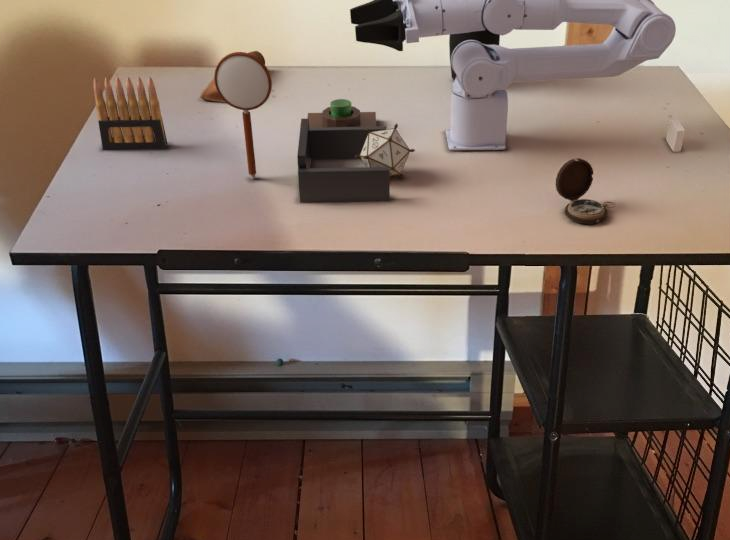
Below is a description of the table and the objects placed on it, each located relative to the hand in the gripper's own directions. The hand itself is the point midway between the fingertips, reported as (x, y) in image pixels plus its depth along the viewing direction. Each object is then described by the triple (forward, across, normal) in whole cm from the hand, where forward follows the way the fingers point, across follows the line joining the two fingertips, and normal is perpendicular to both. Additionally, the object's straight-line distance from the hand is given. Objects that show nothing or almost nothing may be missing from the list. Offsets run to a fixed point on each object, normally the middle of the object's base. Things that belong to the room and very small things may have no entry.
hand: (353, 24), depth 145 cm
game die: (-2, +12, +20) cm, 24 cm away
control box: (+3, -6, +20) cm, 21 cm away
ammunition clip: (+38, -5, +18) cm, 43 cm away
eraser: (-52, +7, +23) cm, 57 cm away
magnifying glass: (+19, +10, +19) cm, 29 cm away
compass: (-31, +28, +21) cm, 47 cm away
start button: (+3, -7, +17) cm, 19 cm away
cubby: (+4, +12, +20) cm, 23 cm away
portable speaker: (-24, -26, +23) cm, 42 cm away
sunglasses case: (+22, -31, +20) cm, 43 cm away
